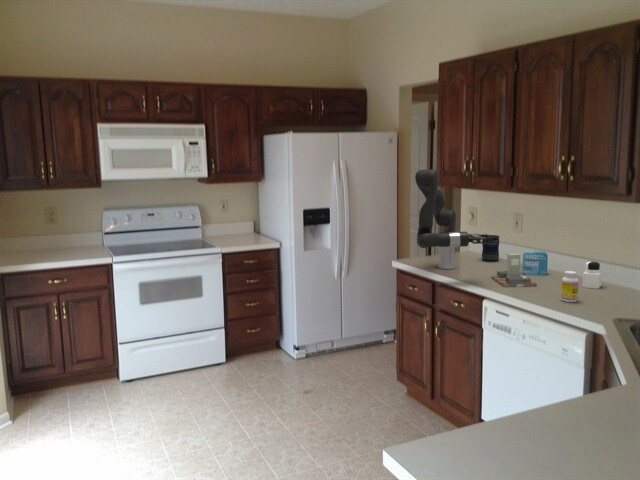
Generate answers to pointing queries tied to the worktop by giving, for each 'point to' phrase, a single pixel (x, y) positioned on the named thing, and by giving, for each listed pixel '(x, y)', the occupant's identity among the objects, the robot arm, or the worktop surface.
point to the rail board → (503, 282)
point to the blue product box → (535, 263)
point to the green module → (513, 265)
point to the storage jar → (491, 250)
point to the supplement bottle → (569, 287)
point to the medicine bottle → (592, 275)
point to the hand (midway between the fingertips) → (490, 237)
